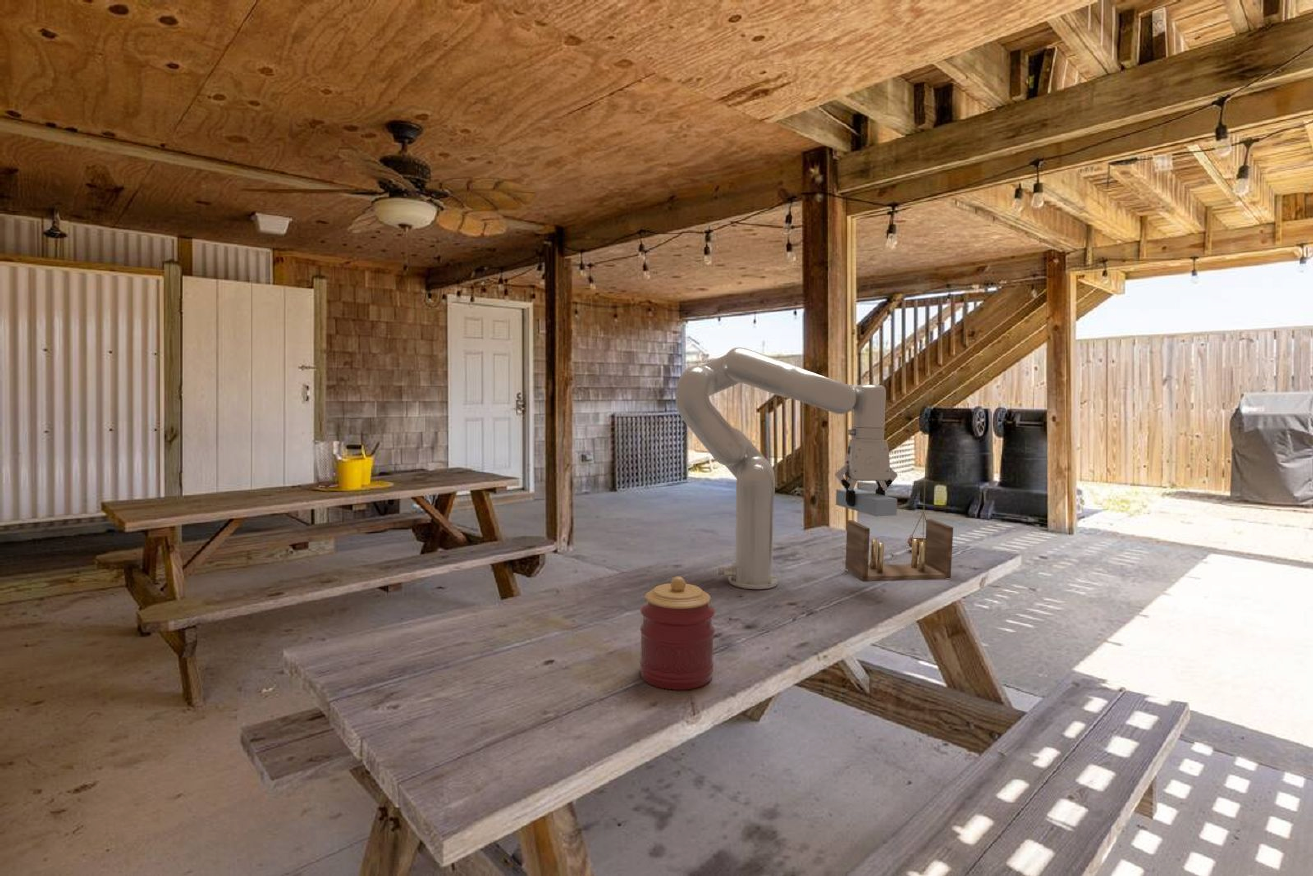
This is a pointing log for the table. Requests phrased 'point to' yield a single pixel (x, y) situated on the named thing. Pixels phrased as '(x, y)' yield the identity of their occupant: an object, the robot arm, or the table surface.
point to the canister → (677, 636)
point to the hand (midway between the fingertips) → (864, 505)
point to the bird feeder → (918, 522)
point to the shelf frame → (935, 564)
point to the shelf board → (869, 502)
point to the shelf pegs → (922, 550)
